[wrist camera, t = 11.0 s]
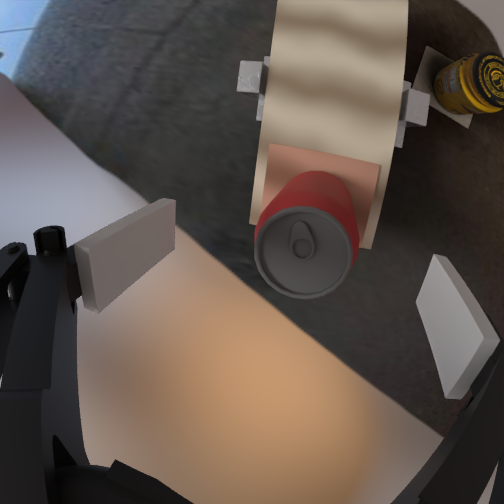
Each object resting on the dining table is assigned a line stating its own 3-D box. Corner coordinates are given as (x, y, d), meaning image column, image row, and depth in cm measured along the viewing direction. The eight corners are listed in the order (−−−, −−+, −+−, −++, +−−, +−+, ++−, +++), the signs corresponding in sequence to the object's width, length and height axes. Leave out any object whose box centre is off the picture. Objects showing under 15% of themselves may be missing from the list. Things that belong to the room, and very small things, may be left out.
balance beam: (285, -33, 20) (282, -43, 18) (405, -15, 18) (409, -23, 16) (253, 217, 32) (247, 223, 30) (369, 242, 30) (371, 250, 28)
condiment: (467, 128, 28) (517, 131, 17) (409, 94, 29) (441, 79, 18) (482, 80, 25) (532, 68, 14) (425, 46, 25) (459, 14, 15)
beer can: (348, 166, 25) (359, 192, 15) (354, 237, 28) (362, 305, 17) (276, 173, 27) (235, 202, 17) (285, 241, 30) (254, 308, 19)
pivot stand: (266, 58, 31) (244, 36, 23) (408, 84, 28) (432, 69, 19) (258, 120, 35) (233, 117, 26) (399, 147, 31) (421, 153, 23)
